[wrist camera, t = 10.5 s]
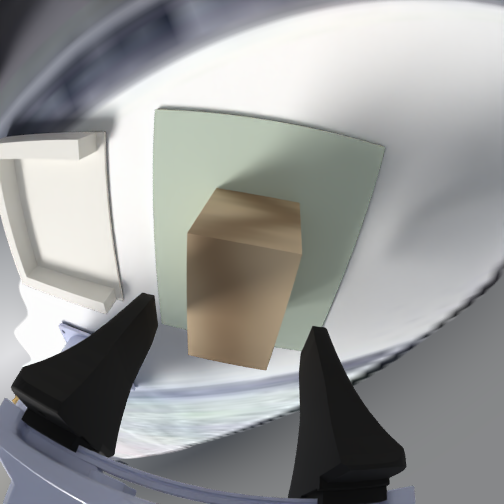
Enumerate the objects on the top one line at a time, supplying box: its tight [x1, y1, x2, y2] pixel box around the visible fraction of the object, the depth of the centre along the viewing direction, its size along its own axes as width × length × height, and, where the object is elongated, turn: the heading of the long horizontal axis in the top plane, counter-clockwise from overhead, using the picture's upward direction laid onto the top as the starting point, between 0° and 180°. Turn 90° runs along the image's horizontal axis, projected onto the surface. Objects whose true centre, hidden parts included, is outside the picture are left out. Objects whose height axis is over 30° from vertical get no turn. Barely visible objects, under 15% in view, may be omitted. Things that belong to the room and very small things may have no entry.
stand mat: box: [153, 109, 385, 351], centre depth 17 cm, size 16×12×1 cm
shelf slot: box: [0, 132, 124, 314], centre depth 17 cm, size 13×11×2 cm
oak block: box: [187, 188, 302, 370], centre depth 15 cm, size 4×8×5 cm, turn 172°
